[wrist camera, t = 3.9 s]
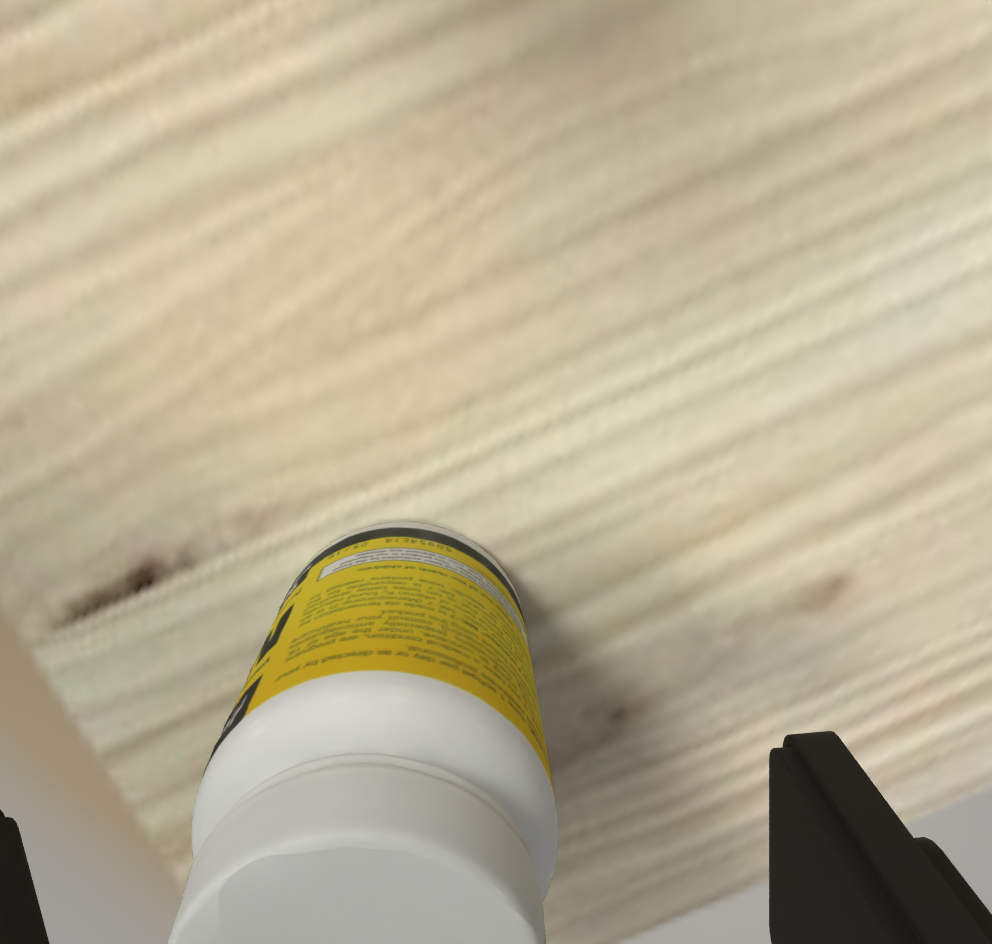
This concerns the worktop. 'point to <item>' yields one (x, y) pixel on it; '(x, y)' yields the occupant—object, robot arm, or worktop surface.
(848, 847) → the robot arm
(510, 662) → the supplement bottle
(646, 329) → the worktop surface
